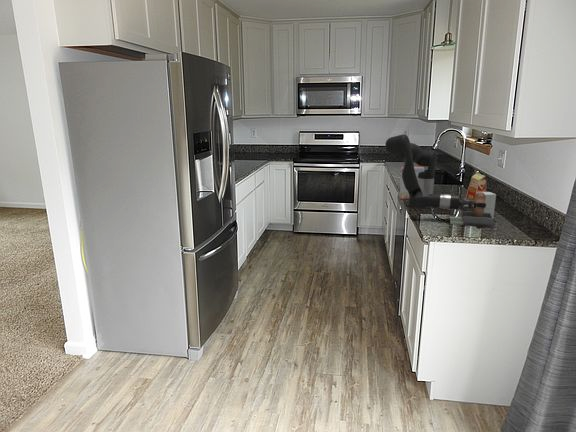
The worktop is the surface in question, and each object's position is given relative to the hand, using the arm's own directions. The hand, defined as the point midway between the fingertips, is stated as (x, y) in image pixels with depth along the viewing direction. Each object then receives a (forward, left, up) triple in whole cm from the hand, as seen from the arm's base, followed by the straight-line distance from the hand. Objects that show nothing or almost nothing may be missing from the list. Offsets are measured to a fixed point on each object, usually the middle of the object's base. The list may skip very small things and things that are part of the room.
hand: (485, 204), depth 208 cm
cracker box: (-51, -38, -10) cm, 64 cm away
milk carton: (-46, 0, -10) cm, 47 cm away
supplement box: (-19, +2, -10) cm, 22 cm away
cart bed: (0, -6, -10) cm, 12 cm away
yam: (0, -3, -7) cm, 8 cm away
